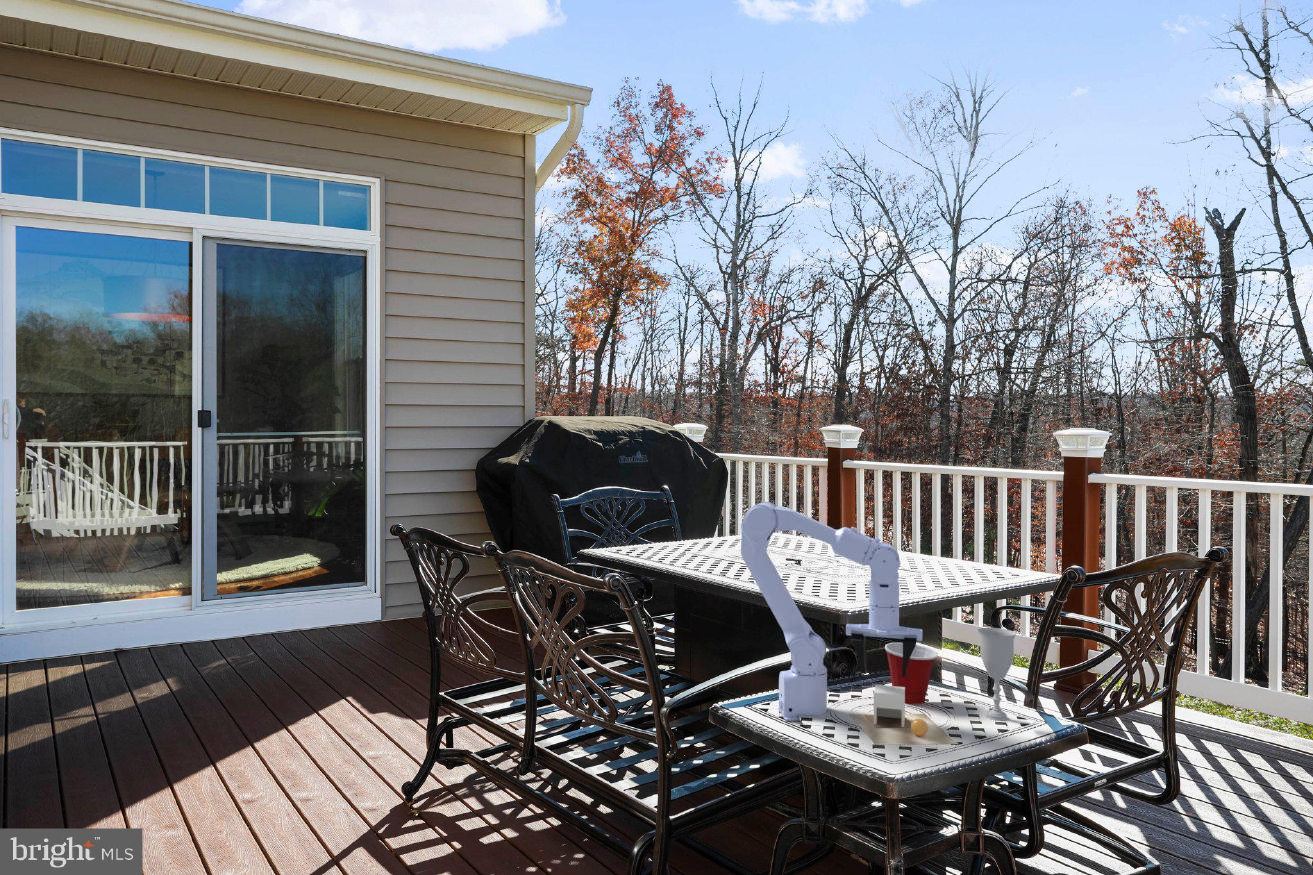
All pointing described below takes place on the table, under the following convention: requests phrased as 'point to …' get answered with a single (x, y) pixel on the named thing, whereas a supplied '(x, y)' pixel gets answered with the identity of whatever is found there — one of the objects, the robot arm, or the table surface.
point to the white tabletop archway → (889, 702)
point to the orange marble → (919, 727)
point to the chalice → (997, 662)
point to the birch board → (900, 730)
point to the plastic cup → (911, 670)
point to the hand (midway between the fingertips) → (883, 674)
